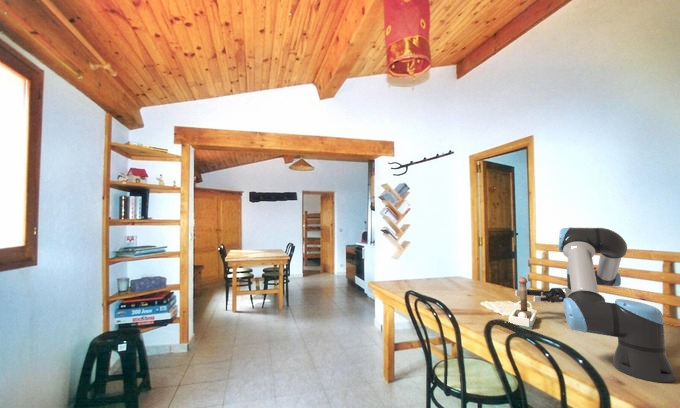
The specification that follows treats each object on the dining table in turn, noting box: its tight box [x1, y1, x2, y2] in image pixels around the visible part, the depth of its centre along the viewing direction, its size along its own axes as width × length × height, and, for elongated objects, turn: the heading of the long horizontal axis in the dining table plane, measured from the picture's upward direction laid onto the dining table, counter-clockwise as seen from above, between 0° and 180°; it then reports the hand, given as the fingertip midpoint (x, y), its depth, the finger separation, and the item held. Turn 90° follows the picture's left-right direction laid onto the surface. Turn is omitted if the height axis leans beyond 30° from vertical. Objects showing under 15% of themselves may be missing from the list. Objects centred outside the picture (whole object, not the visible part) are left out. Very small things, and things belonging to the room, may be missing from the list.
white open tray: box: [508, 308, 537, 330], centre depth 156 cm, size 20×10×4 cm, turn 142°
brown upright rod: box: [516, 276, 533, 319], centre depth 162 cm, size 5×7×21 cm
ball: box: [518, 312, 527, 318], centre depth 156 cm, size 4×4×4 cm
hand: (524, 296), depth 163 cm, fingers open, 13 cm apart
